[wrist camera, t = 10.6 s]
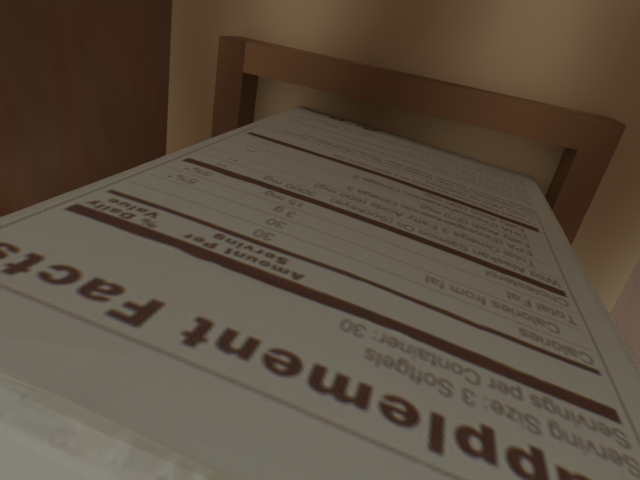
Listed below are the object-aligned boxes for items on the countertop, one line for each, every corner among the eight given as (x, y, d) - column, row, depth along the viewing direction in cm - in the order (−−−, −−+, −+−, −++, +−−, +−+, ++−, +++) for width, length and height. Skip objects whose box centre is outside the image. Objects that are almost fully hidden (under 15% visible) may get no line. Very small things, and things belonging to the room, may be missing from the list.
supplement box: (447, 369, 17) (416, 1068, 5) (252, 293, 18) (-122, 747, 6) (544, 172, 13) (997, 898, 2) (299, 93, 14) (-301, 289, 3)
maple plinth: (692, 25, 14) (800, 20, 10) (507, 412, 21) (519, 516, 17) (236, -58, 17) (150, -94, 12) (203, 311, 24) (140, 377, 19)
